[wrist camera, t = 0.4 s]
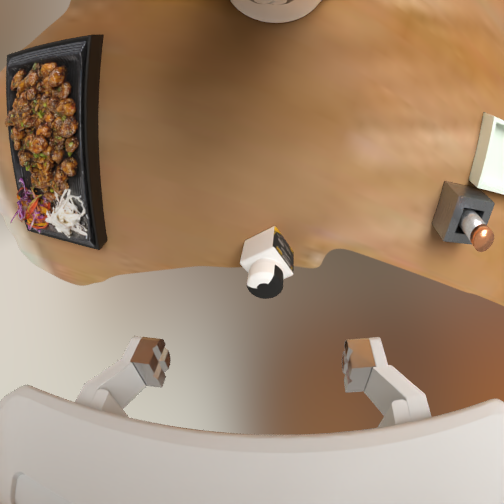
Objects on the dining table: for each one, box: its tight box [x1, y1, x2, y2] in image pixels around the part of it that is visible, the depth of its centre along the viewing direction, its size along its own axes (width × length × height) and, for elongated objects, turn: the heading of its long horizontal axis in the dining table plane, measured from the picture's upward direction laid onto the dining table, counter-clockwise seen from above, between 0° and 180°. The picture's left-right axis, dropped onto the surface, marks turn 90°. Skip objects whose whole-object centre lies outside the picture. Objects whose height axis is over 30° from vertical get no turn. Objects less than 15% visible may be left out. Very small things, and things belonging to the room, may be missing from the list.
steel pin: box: [458, 207, 494, 252], centre depth 42 cm, size 4×4×12 cm
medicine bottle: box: [240, 226, 293, 299], centre depth 53 cm, size 7×7×12 cm
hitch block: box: [432, 181, 495, 244], centre depth 44 cm, size 9×9×6 cm
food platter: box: [5, 35, 107, 250], centre depth 44 cm, size 45×25×10 cm, turn 170°
